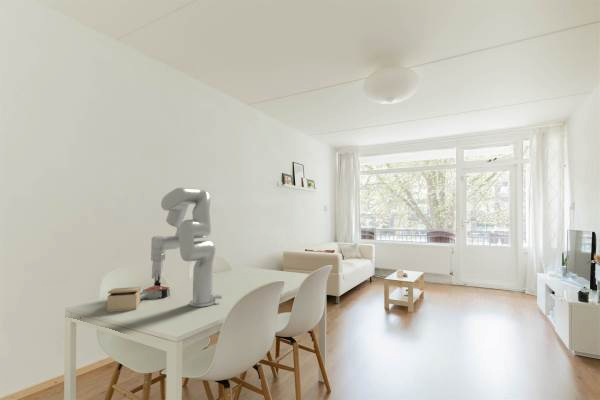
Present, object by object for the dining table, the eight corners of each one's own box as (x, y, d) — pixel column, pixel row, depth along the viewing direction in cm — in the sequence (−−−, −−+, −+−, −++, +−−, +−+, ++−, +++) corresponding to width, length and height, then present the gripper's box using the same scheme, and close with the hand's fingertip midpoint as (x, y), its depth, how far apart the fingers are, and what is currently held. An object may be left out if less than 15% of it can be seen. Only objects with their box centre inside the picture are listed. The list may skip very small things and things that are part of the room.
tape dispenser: (126, 307, 160) (169, 301, 167) (126, 296, 160) (169, 291, 167) (132, 296, 177) (170, 291, 184) (131, 287, 177) (170, 282, 184)
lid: (140, 288, 163) (140, 286, 163) (136, 291, 151) (136, 289, 151) (113, 290, 159) (114, 288, 159) (107, 293, 147) (107, 291, 147)
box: (140, 302, 162) (140, 288, 162) (136, 309, 151) (136, 294, 151) (113, 304, 158) (113, 290, 159) (107, 311, 147) (107, 296, 147)
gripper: (152, 256, 191) (151, 287, 190) (149, 259, 177) (148, 293, 176) (165, 255, 193) (165, 286, 193) (164, 259, 179) (163, 292, 178)
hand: (157, 289), depth 184 cm, fingers closed
